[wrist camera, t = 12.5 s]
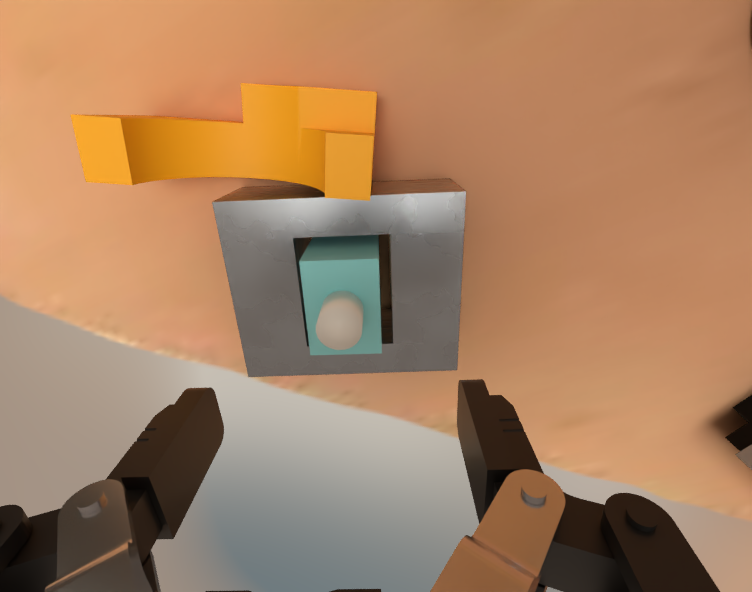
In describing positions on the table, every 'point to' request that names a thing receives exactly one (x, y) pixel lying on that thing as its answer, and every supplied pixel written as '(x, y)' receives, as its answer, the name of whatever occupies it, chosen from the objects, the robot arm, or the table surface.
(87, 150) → the pipe clamp
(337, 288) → the plug
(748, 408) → the game console
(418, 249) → the switch housing
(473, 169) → the table surface
